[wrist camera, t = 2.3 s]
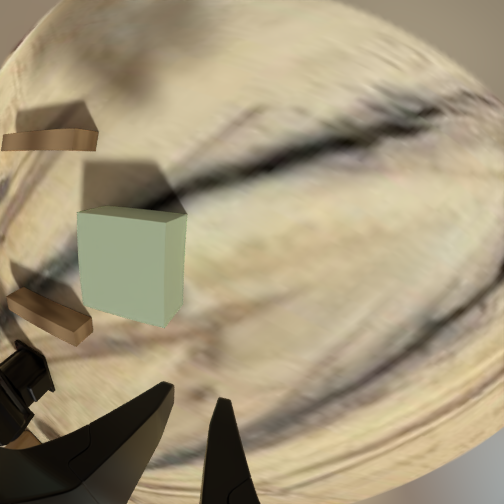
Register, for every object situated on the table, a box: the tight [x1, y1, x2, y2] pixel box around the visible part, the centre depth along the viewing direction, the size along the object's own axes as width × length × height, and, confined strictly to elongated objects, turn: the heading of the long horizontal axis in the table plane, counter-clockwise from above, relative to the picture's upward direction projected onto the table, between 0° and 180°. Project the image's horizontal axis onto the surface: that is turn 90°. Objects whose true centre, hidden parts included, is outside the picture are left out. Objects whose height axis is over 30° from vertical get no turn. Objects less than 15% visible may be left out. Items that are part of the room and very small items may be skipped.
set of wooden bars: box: [1, 128, 99, 347], centre depth 20 cm, size 21×18×3 cm
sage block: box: [77, 206, 187, 328], centre depth 19 cm, size 7×7×4 cm
